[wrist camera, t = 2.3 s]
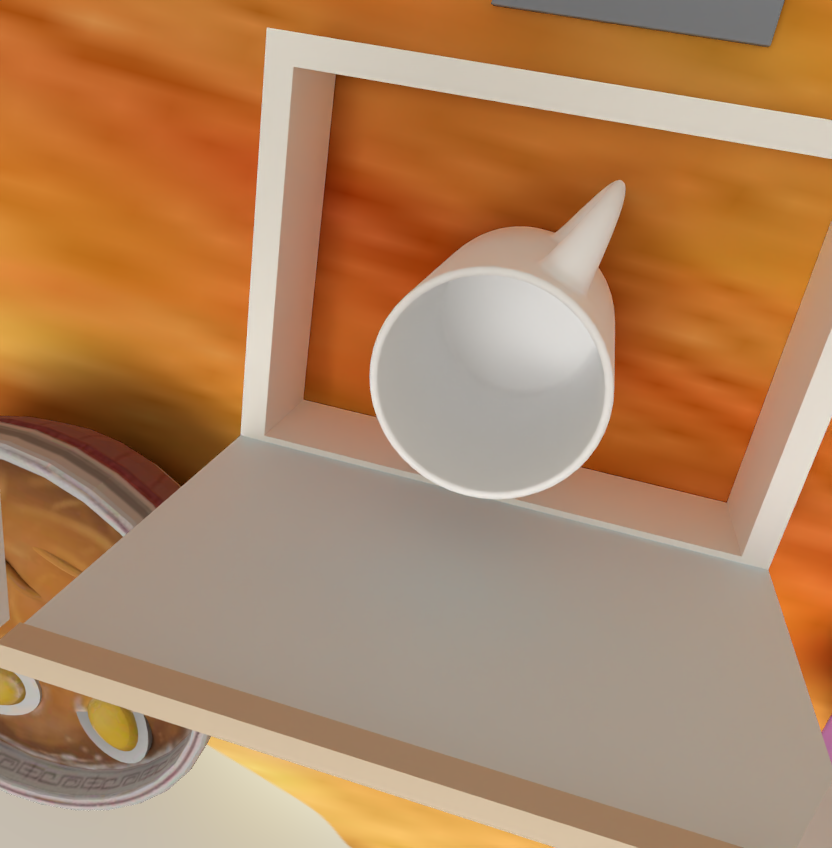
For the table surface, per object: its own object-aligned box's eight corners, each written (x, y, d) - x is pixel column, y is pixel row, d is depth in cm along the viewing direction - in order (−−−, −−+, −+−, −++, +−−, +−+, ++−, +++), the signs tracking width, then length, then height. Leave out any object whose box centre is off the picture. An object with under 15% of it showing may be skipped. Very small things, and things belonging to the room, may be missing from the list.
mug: (706, 228, 33) (742, 278, 23) (543, 433, 38) (517, 542, 29) (541, 115, 33) (509, 117, 23) (400, 335, 38) (327, 412, 28)
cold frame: (313, 38, 34) (-70, -50, 15) (897, 134, 30) (1370, 177, 11) (280, 414, 41) (-2, 671, 23) (744, 529, 38) (871, 954, 19)
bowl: (188, 746, 53) (101, 876, 44) (-82, 548, 52) (-228, 639, 43) (363, 534, 43) (296, 647, 34) (32, 285, 42) (-126, 333, 33)
